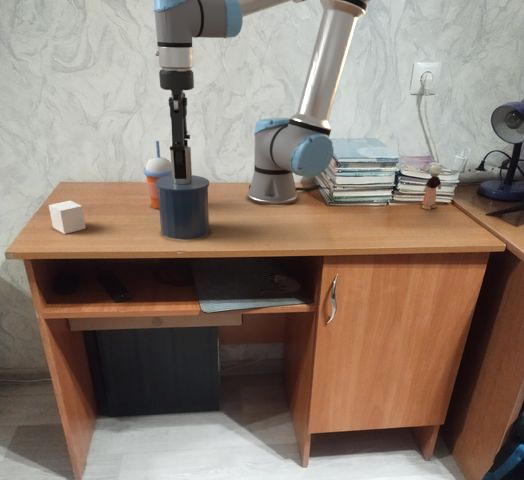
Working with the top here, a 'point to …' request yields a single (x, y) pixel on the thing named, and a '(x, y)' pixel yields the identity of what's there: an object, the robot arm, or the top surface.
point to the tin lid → (182, 184)
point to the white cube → (67, 216)
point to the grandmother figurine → (432, 187)
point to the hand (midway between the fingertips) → (182, 172)
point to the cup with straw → (156, 174)
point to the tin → (184, 214)
